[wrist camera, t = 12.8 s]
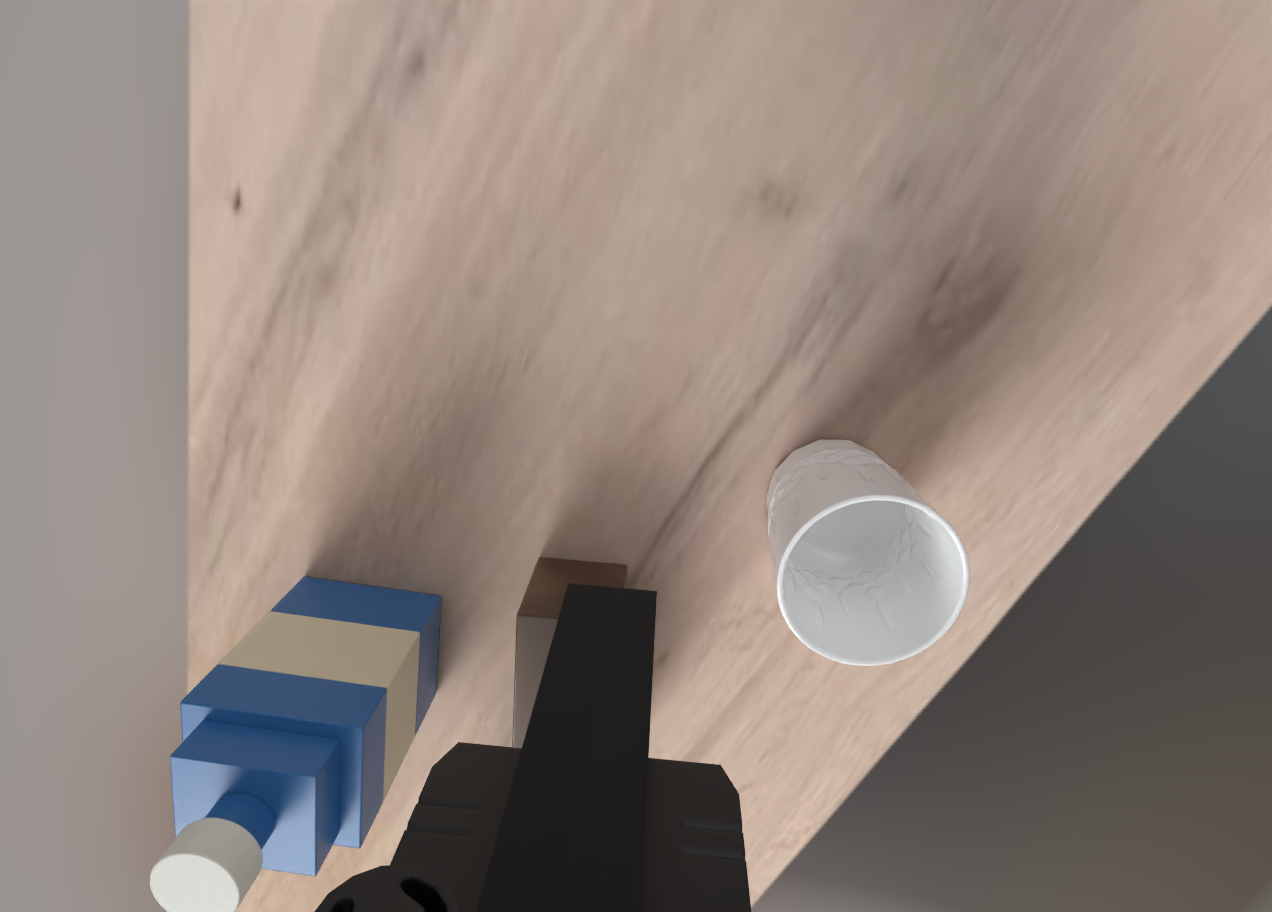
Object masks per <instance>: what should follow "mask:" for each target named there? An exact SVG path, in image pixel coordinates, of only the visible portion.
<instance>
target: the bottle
mask: <svg viewBox="0 0 1272 912" xmlns="http://www.w3.org/2000/svg"><path fill="white" fill-rule="evenodd" d="M441 600H442V597H441V596H439V595H432V594H425V593H418V592H410V591H403V590H396V589H389V588H382V587H375V586H368V585H360V584H353V583H346V582H339V581H332V580H325V579H318V578H310V577H303V578H302V579H301V580H300V581H299V582H298V583H297V584H296V585H295V586H294V587H293V588H292V589H291V590H290V591H289V592H288V593H287V594H286V595H285V596H284V597H283V598H282V599H281V601H280V602H279V603H278V604H277V605H276V606H275V607H274V608H273V609H272V610H271V611H270V612H269V613H268V614H267V615H266V616H265V617H264V618H263V619H262V620H261V621H260V622H259V623H258V624H257V625H256V626H255V627H254V628H253V629H252V630H251V631H250V632H249V633H248V634H247V635H246V636H245V637H244V638H243V639H242V640H241V641H240V642H239V643H238V644H237V645H236V646H235V647H234V648H233V649H232V650H231V651H230V652H229V653H228V654H227V655H226V656H225V657H224V658H223V659H222V660H221V661H220V662H219V664H218V665H216V666H215V667H214V669H213V670H212V671H211V672H210V673H209V674H208V675H207V676H206V677H205V678H204V679H203V680H202V681H201V682H200V683H199V684H198V685H197V686H196V687H195V688H194V689H193V690H192V691H191V692H190V693H189V694H188V695H187V696H186V697H185V698H184V699H183V700H182V701H181V704H180V705H181V723H182V739H183V742H182V744H181V745H180V746H179V747H178V748H177V749H176V750H175V751H174V752H173V753H172V755H171V756H170V761H171V776H172V792H173V807H174V823H175V840H174V841H173V842H172V843H171V845H170V846H169V847H168V849H167V850H166V851H165V852H164V854H163V855H162V856H161V858H160V859H159V860H158V861H157V863H156V864H155V865H154V867H153V869H152V871H151V876H150V886H151V890H152V893H153V895H154V897H155V898H156V900H157V901H158V903H159V904H160V905H161V906H162V907H163V908H164V909H165V910H166V911H168V912H235V911H236V909H237V908H238V906H239V905H240V903H241V901H242V900H243V898H244V897H245V895H246V893H247V892H248V890H249V889H250V887H251V885H252V884H253V882H254V880H255V879H256V877H257V876H258V874H259V872H260V870H261V869H268V870H275V871H282V872H289V873H296V874H303V875H310V876H316V875H317V873H318V871H319V869H320V868H321V866H322V864H323V862H324V860H325V858H326V856H327V854H328V853H329V851H330V849H331V847H332V845H339V846H346V847H353V848H361V846H362V844H363V842H364V840H365V838H366V836H367V834H368V832H369V829H370V827H371V825H372V823H373V821H374V819H375V817H376V815H377V813H378V811H379V809H380V807H381V805H382V803H383V800H384V799H385V797H386V795H387V793H388V790H389V788H390V786H391V784H392V782H393V780H394V778H395V776H396V774H397V772H398V770H399V768H400V766H401V764H402V762H403V760H404V758H405V756H406V754H407V752H408V749H409V747H410V745H411V743H412V741H413V739H414V737H415V735H416V733H417V731H418V729H419V727H420V725H421V723H422V721H423V719H424V717H425V715H426V713H427V711H428V709H429V706H430V704H431V702H432V700H433V698H434V696H435V694H436V685H437V668H438V651H439V634H440V617H441Z"/></svg>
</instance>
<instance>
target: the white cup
mask: <svg viewBox="0 0 1272 912" xmlns="http://www.w3.org/2000/svg"><path fill="white" fill-rule="evenodd" d="M766 504H767V509H768V534H769V543H770V554H771V559H772V564H773V570H774V577H775V583H776V590H777V596H778V602H779V606H780V609H781V612H782V614H783V617H784V619H785V621H786V623H787V624H788V626H789V627H790V629H791V630H792V632H793V633H794V634H795V635H796V636H797V637H798V639H799V640H800V641H802V642H803V643H804V644H805V645H806V646H807V647H809V648H810V649H812V650H813V651H815V652H816V653H818V654H820V655H822V656H824V657H826V658H828V659H831V660H834V661H837V662H840V663H845V664H850V665H858V666H876V665H884V664H890V663H894V662H898V661H901V660H904V659H907V658H909V657H911V656H914V655H916V654H918V653H920V652H921V651H923V650H925V649H926V648H928V647H929V646H931V645H932V644H933V643H935V642H936V641H937V640H938V639H939V638H941V637H942V636H943V635H944V634H945V633H946V632H947V630H948V629H949V628H950V627H951V626H952V624H953V623H954V622H955V620H956V618H957V617H958V615H959V613H960V611H961V609H962V607H963V605H964V602H965V600H966V596H967V593H968V588H969V579H970V571H969V562H968V557H967V553H966V550H965V548H964V545H963V543H962V541H961V539H960V537H959V536H958V534H957V532H956V531H955V530H954V528H953V527H952V526H951V525H950V524H949V522H948V521H947V520H946V519H945V518H944V517H943V516H942V515H941V514H939V513H938V512H937V511H936V510H935V509H934V508H933V506H932V505H931V504H930V503H929V502H928V501H927V500H926V499H925V498H924V497H923V496H922V495H921V494H920V493H919V492H918V491H917V490H916V489H915V488H914V487H913V486H912V485H911V484H910V483H909V482H907V481H906V480H905V479H904V478H903V477H902V476H901V475H900V474H899V473H898V472H897V471H895V470H894V469H893V468H892V467H890V466H889V465H888V464H886V463H885V462H883V460H882V459H881V458H880V457H879V456H878V455H877V454H876V453H875V452H873V451H871V450H869V449H867V448H865V447H863V446H861V445H859V444H857V443H855V442H852V441H850V440H817V441H815V442H813V443H810V444H808V445H806V446H803V447H801V448H799V449H796V450H794V451H792V452H791V454H790V455H789V456H788V457H787V458H786V459H785V460H784V461H783V462H782V463H781V464H780V466H779V467H778V468H777V469H776V470H775V471H774V472H773V475H772V479H771V482H770V485H769V489H768V492H767V495H766Z"/></svg>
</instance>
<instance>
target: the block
mask: <svg viewBox="0 0 1272 912" xmlns="http://www.w3.org/2000/svg"><path fill="white" fill-rule="evenodd" d="M627 570H628V566H627V565H618V564H607V563H596V562H585V561H574V560H563V559H552V558H541V557H540V558H538V561H537V564H536V566H535V569H534V571H533V574H532V577H531V579H530V582H529V585H528V587H527V590H526V592H525V595H524V598H523V600H522V603H521V605H520V608H519V611H518V613H517V623H516V653H515V683H514V712H513V742H512V748H522V746H523V742H524V739H525V735H526V731H527V728H528V724H529V721H530V717H531V714H532V710H533V707H534V703H535V699H536V696H537V692H538V689H539V685H540V682H541V678H542V675H543V671H544V667H545V664H546V660H547V657H548V653H549V650H550V646H551V643H552V639H553V635H554V632H555V628H556V625H557V621H558V618H559V614H560V611H561V607H562V603H563V600H564V596H565V593H566V589H567V586H568V583H572V584H583V585H594V586H605V587H616V588H626V582H627Z"/></svg>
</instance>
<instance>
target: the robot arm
mask: <svg viewBox="0 0 1272 912" xmlns="http://www.w3.org/2000/svg"><path fill="white" fill-rule="evenodd" d="M656 596H657V591H648V590H637V589H627V588H616V587H605V586H594V585H583V584H572V583H568V586H567V589H566V593H565V596H564V600H563V603H562V607H561V611H560V614H559V618H558V621H557V625H556V628H555V632H554V635H553V639H552V643H551V646H550V650H549V653H548V657H547V660H546V664H545V667H544V671H543V675H542V678H541V682H540V685H539V689H538V692H537V696H536V699H535V703H534V707H533V710H532V714H531V717H530V721H529V724H528V728H527V731H526V735H525V739H524V742H523V746H522V748H512V747H502V746H491V745H481V744H471V743H460V742H458V743H457V744H456V745H455V746H454V747H453V748H452V749H451V750H450V751H449V752H448V753H447V754H446V755H444V756H443V757H442V758H441V759H440V760H439V761H438V762H437V763H436V764H435V765H434V766H433V767H432V768H431V771H430V773H429V775H428V778H427V780H426V782H425V785H424V787H423V789H422V792H421V794H420V796H419V801H418V804H416V806H415V808H414V810H413V813H412V815H411V817H410V820H409V822H408V827H407V830H405V831H404V834H403V836H402V838H401V841H400V843H399V845H398V848H397V850H396V852H395V855H394V857H393V859H392V862H391V864H390V866H380V867H377V868H374V869H371V870H369V871H366V872H363V873H360V874H357V875H355V876H352V877H351V878H350V879H348V880H347V881H345V882H344V883H343V884H341V885H340V886H338V887H337V888H336V889H334V890H333V891H331V892H330V893H329V894H328V895H327V896H326V897H325V899H324V900H323V901H322V903H321V904H320V905H319V907H318V908H317V909H316V911H315V912H751V905H750V896H749V886H748V876H747V867H746V861H745V848H744V838H743V833H742V819H741V809H740V800H739V793H738V792H737V790H736V789H735V787H734V786H733V784H732V782H731V781H730V779H729V778H728V776H727V774H726V773H725V771H724V770H723V768H722V767H721V765H715V764H705V763H695V762H684V761H674V760H663V759H653V758H648V753H649V733H650V713H651V694H652V674H653V654H654V635H655V615H656Z"/></svg>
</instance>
